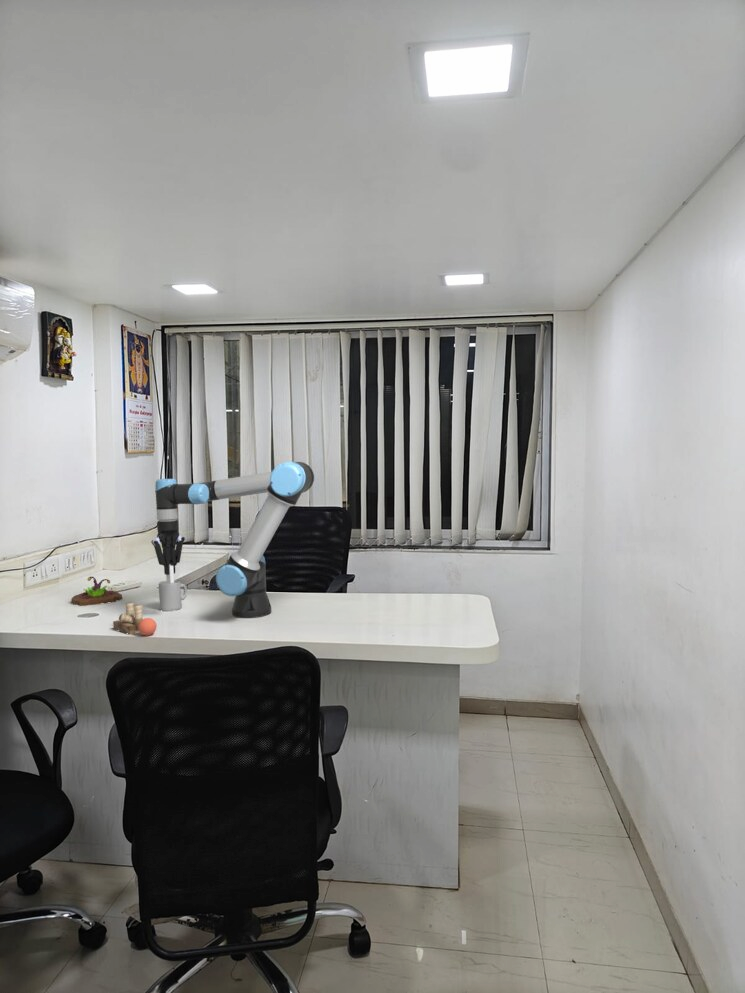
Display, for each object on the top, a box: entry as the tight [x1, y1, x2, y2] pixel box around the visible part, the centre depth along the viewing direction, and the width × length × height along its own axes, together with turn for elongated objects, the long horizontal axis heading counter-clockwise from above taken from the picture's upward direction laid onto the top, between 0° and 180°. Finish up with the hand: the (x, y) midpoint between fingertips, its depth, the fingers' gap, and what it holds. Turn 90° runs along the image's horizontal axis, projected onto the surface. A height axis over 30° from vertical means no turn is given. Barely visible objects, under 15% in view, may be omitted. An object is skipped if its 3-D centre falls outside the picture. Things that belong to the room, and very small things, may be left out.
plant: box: [71, 576, 123, 607], centre depth 286 cm, size 20×20×11 cm
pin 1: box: [125, 602, 135, 617], centre depth 237 cm, size 3×3×9 cm
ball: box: [138, 617, 157, 637], centre depth 226 cm, size 6×6×6 cm
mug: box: [158, 579, 188, 612], centre depth 267 cm, size 12×8×11 cm
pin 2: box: [134, 604, 143, 632], centre depth 233 cm, size 3×3×9 cm
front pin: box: [118, 613, 135, 625], centre depth 234 cm, size 3×3×9 cm
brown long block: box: [112, 619, 137, 635], centre depth 232 cm, size 12×2×3 cm, turn 48°
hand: (170, 582), depth 245 cm, fingers closed
